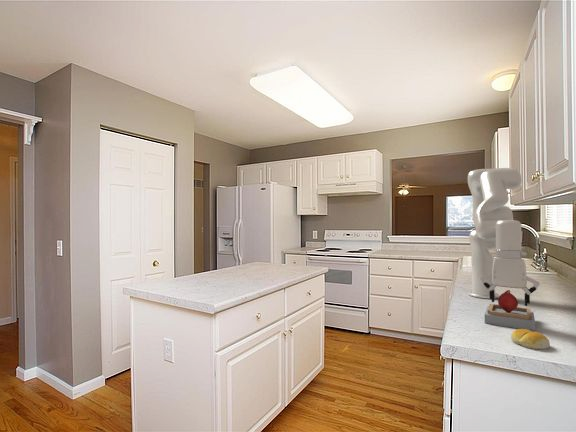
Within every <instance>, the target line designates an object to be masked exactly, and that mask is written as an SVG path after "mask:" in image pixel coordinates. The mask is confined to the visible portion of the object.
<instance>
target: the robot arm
mask: <svg viewBox="0 0 576 432" xmlns="http://www.w3.org/2000/svg"><path fill="white" fill-rule="evenodd" d="M522 180H523V179H522V175H521V172H520V171H519V170H518V169H517V168H512V167H497V168H496V167H495V168H480V169H474V170H470V171H469V172H468V174H467V185H468V188H469V191H470V194H471V197H472V221H473V224H474V227H475V229H473V230H471V231H470V232H469V235H468V240H469V244H470V245H469V246H470V254H471V290H469V291H468V293H467V294H468V295H469V296H471V297H474V298H481V299H488V300H491V302H492V303H495V299H499V297H500V293H497V292H496V287H500V288H501V287H502V288H511V289H521V290H523V292H524V306H525V307H528V305H529V304H530V303H531V301H530V300H531V295H532V293H534V292H535V291H536V290H537V289H538V287H539V286H540V284H541V283H540V281H538V280H536V279H534V278H532V277H530V276H528V275H527V267H526V261H525V259H523V258H525V257H527V256H528V255H527V252H524V251H522V222H520V221H519V220H515V219H514V214H513V210H512V209H511V207H509V206H507V205H506V204H508V202H509V195H508V190H516V189H518V188H520V187H521V184H522V182H523V181H522ZM489 250H495V257H494V256H493V254H492V253H491V252H490V251H489ZM527 282H529V283H532V284H533V285H532V286H531V287H530V288H528V287H527V284H528V283H527Z"/></svg>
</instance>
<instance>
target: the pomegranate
mask: <svg viewBox="0 0 576 432" xmlns="http://www.w3.org/2000/svg"><path fill="white" fill-rule="evenodd" d="M497 299H498V300H497V303H498V304H499V306H500V307H501V308H502V309H503V310H504V311H506V312H507V313H510V312H511V311H513V310H515V309H516V308H517V307H519V302H518V299H517V298H516V296H515V295H514V294H513V293H511V290H510V289H508V290H506V291H504V292H503V293H501V294H499V298H497Z"/></svg>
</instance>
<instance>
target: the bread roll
mask: <svg viewBox="0 0 576 432" xmlns="http://www.w3.org/2000/svg"><path fill="white" fill-rule="evenodd" d="M510 335H511V336H510V338H511V342H512V343H515V344H516V345H520V346H522V347H524V348H527V349H532V350H546V349H549V348H550V345H551V342H550V340H549V339H548V338H547V337H546V336H545V335H544V334H543V333H541V332H537V331H532V330H527V329H519V328H516V329H515V330H513V331H512V332H511V334H510Z"/></svg>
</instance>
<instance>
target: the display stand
mask: <svg viewBox="0 0 576 432" xmlns="http://www.w3.org/2000/svg"><path fill="white" fill-rule="evenodd" d="M484 324H488V325H493V326H494V325H495V326H500V327H508V328H515V329H527V330H530V331H532V332H536V321H535V313H534V311H532V309H531V308H529V307H522V306H517V308H516V309H515V310H513V311H511V312H510V313H507V312H506V311H504V310H503V309H502V308H501V307H500V306H499V304H497V303H490V304H489V305H487V307H486V309H485V312H484Z"/></svg>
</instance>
